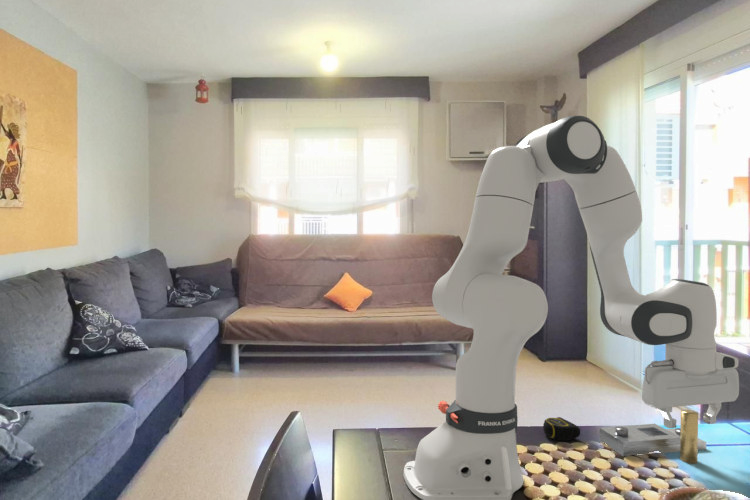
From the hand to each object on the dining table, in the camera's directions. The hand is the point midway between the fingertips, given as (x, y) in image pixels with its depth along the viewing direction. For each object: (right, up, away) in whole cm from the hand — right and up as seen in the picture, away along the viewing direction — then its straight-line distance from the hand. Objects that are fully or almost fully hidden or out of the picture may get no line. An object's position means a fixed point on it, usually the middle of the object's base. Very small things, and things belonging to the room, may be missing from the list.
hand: (689, 424), depth 103 cm
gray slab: (-4, -7, +7) cm, 11 cm away
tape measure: (-22, -7, +12) cm, 26 cm away
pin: (0, -7, 0) cm, 7 cm away
